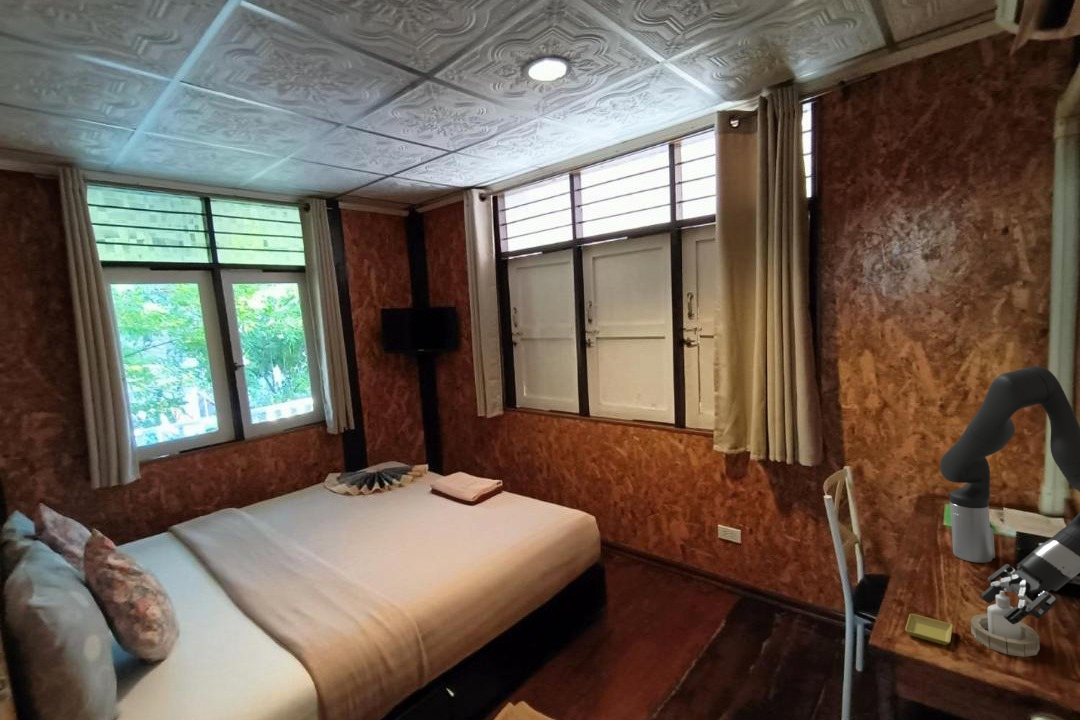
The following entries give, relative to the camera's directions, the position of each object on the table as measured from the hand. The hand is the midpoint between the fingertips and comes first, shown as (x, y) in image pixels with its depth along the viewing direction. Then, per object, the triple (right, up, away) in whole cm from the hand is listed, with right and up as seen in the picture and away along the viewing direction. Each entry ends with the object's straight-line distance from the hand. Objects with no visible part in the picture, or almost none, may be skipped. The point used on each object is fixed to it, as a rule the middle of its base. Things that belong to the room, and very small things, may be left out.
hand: (995, 610), depth 115 cm
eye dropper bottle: (+2, -7, 0) cm, 8 cm away
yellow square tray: (-12, -9, +5) cm, 16 cm away
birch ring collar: (+2, -7, 0) cm, 7 cm away
